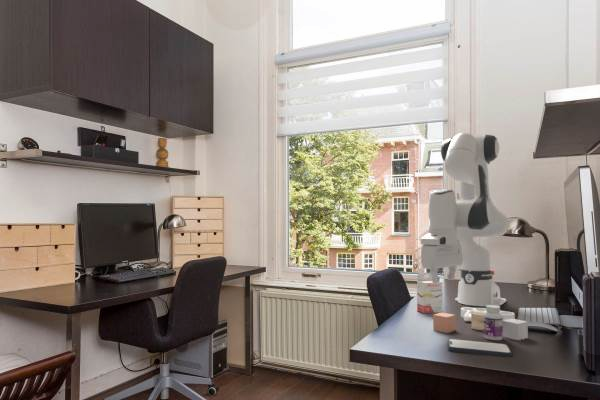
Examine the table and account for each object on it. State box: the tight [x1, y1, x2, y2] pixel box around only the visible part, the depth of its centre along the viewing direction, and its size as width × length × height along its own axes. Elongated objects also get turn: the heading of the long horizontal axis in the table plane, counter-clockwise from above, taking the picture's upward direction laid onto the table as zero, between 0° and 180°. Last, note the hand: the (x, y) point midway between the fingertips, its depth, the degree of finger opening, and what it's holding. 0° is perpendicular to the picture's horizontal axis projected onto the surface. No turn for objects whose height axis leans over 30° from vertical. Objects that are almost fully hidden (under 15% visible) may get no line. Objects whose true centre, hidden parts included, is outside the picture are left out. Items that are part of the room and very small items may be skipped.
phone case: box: [447, 338, 513, 357], centre depth 121 cm, size 9×2×16 cm
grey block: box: [503, 318, 529, 341], centre depth 133 cm, size 5×5×5 cm
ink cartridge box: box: [416, 272, 443, 314], centre depth 169 cm, size 9×5×15 cm, turn 108°
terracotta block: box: [432, 311, 456, 334], centre depth 142 cm, size 5×5×5 cm
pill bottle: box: [483, 305, 504, 341], centre depth 132 cm, size 5×5×10 cm
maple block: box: [470, 311, 485, 331], centre depth 144 cm, size 5×5×5 cm
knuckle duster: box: [460, 306, 516, 323], centre depth 155 cm, size 3×18×15 cm
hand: (443, 281), depth 142 cm, fingers open, 8 cm apart
